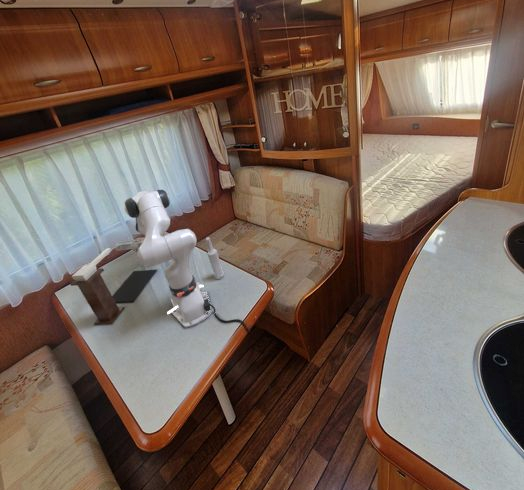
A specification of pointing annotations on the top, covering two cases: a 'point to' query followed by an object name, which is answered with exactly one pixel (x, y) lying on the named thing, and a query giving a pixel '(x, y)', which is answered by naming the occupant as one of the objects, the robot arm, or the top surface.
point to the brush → (90, 267)
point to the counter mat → (133, 286)
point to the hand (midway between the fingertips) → (124, 246)
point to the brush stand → (99, 298)
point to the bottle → (214, 260)
